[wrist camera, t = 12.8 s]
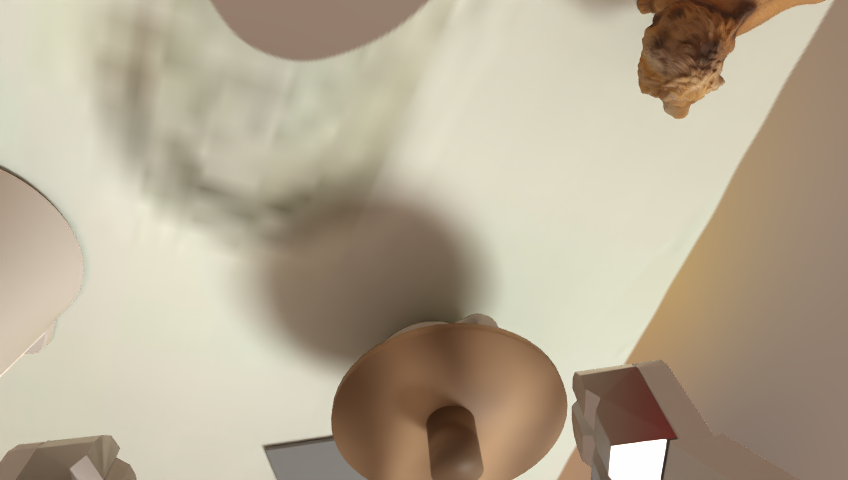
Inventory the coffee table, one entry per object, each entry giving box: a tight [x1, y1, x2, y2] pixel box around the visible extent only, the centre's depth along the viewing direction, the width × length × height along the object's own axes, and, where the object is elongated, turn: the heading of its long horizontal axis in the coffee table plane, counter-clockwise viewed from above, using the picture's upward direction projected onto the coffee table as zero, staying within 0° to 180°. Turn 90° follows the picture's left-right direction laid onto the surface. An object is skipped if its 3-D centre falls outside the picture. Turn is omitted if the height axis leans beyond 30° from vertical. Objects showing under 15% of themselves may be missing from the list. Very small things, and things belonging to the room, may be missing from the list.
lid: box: [331, 323, 567, 480], centre depth 38 cm, size 17×17×5 cm
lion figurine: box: [637, 0, 825, 119], centre depth 30 cm, size 15×5×9 cm, turn 127°
